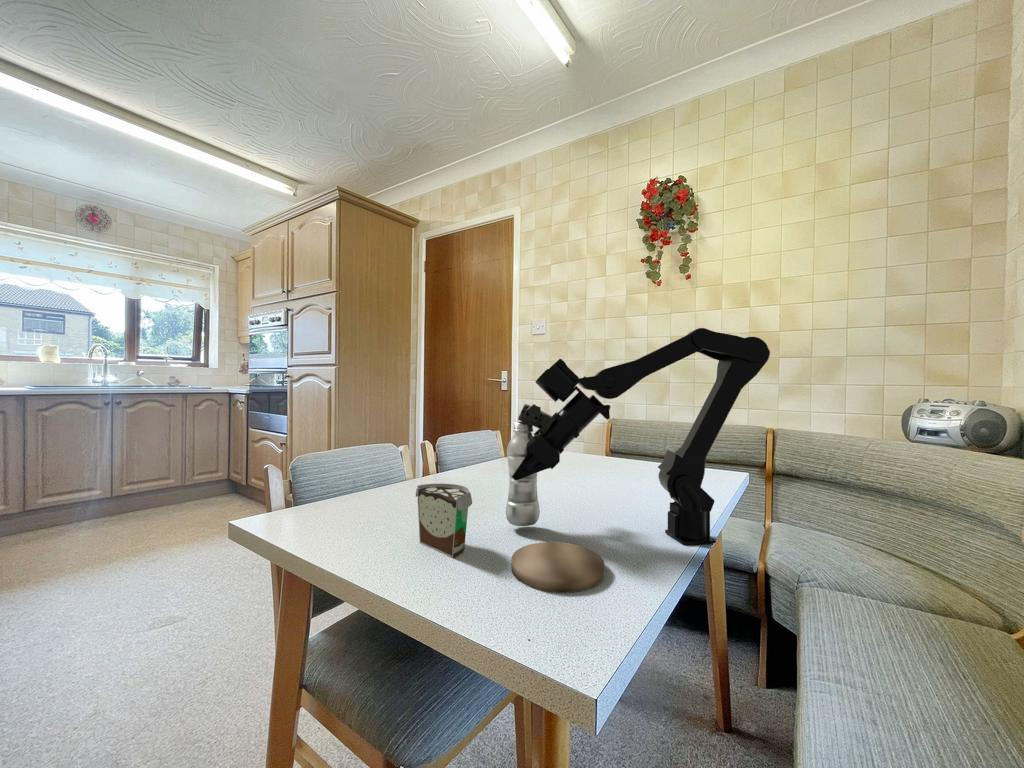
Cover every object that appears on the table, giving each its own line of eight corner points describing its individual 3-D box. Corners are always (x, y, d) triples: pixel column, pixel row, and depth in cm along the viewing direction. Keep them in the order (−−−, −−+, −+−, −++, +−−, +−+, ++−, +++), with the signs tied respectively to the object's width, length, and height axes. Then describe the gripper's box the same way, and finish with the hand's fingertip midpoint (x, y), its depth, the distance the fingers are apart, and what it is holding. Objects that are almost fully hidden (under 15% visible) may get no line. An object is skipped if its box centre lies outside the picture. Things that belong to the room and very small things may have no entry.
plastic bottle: (504, 519, 81) (504, 421, 82) (537, 518, 82) (537, 420, 82) (506, 530, 75) (506, 423, 75) (542, 529, 75) (542, 423, 76)
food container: (486, 550, 68) (487, 491, 68) (458, 561, 64) (459, 497, 64) (442, 532, 76) (443, 479, 77) (414, 540, 72) (415, 485, 72)
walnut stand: (585, 548, 69) (585, 540, 69) (620, 588, 55) (620, 577, 55) (504, 553, 67) (505, 544, 67) (520, 596, 53) (520, 584, 53)
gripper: (545, 390, 88) (495, 440, 89) (539, 389, 69) (477, 452, 70) (581, 426, 86) (530, 476, 88) (586, 436, 68) (521, 499, 69)
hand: (515, 475), depth 79 cm, fingers closed on plastic bottle, 6 cm apart
